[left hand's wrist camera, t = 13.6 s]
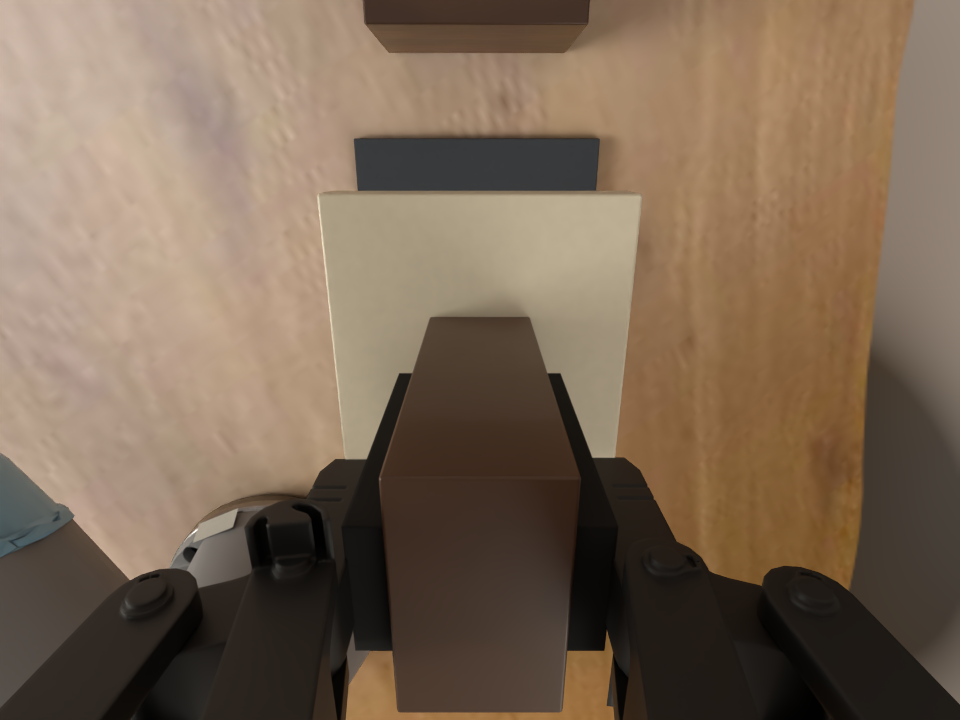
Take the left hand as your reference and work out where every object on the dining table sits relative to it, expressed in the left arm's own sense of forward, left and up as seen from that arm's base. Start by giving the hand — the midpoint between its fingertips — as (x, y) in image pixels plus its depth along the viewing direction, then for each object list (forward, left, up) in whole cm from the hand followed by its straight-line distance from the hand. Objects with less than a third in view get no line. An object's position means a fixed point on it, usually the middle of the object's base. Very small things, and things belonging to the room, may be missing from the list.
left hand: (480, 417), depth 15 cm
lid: (0, 0, -3) cm, 3 cm away
